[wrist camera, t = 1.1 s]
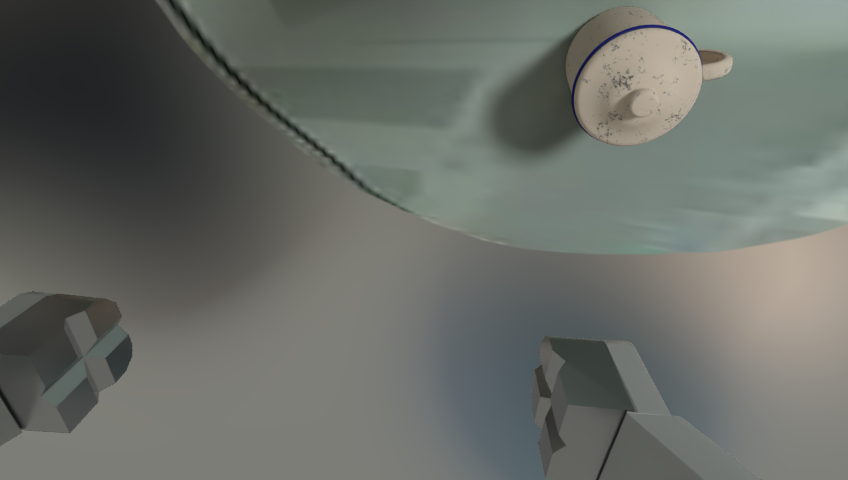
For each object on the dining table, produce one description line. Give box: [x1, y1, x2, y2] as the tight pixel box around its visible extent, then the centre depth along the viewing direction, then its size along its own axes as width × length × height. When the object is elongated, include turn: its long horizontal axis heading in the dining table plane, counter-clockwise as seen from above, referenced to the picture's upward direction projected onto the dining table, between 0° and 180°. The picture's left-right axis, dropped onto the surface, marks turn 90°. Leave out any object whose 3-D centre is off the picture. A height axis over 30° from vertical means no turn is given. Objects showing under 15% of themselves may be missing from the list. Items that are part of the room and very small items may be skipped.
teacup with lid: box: [565, 7, 733, 146], centre depth 34 cm, size 12×9×12 cm
